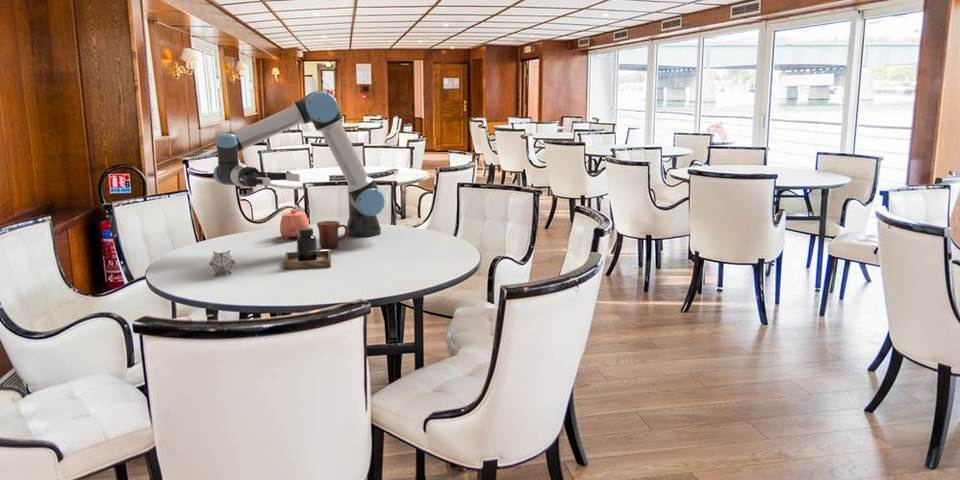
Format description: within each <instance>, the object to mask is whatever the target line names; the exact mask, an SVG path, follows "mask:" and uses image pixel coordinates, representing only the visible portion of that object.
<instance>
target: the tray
mask: <svg viewBox="0 0 960 480" xmlns="http://www.w3.org/2000/svg"><path fill="white" fill-rule="evenodd" d="M331 252H332V251H331ZM331 252H330V250H329V251H317V260H315V261H298V255H297V251H291V252H288V251H287V252H285V257H284V261H283V270H301V269H302V270H304V269H317V268H319V269H320V268H322V269H323V268H331V267H332V266H331V264H332V261H331V260H332V256H331Z"/></svg>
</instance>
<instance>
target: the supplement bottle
mask: <svg viewBox="0 0 960 480" xmlns="http://www.w3.org/2000/svg"><path fill="white" fill-rule="evenodd" d="M299 234H300V236H299V237H297V238H296V252H297V255H298V261H315V260H317V250H318V249H317V238H316V236H315V235H314V229H313V228H311V227H309V228H302V229H299Z"/></svg>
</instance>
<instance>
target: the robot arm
mask: <svg viewBox="0 0 960 480" xmlns="http://www.w3.org/2000/svg"><path fill="white" fill-rule="evenodd" d="M343 119H344V117H343V115H342V113H341V111H340V109H339V104H338V102H337V100H336V98H335V97H334V96H333V94H331V93H330V92H327V91H325V90H317V91H312V92H310V93H308V94H306V95H305V96H304V97H301V99H298V100H296V101H294V102H293V103H292V105H291V106H289V107H287V108H285V109H282V110H280V111H279V112H276V113H274V114H272V115H270V116H267V117H265V118H263V119H261V120H259V121H257V122H255V123H252V124H250V125H247V126H245V127H243V128H241V129H239V130H236V131H234V132H232V133H220V134H219V133H218V134H217V135H216V136H215V140H216V141H215V145H216V146H215V147H216V155H217V166H215V168H214V170H213V174H212V177H213V178H214V180H215V181H216V182H217V183H218V184H222V185H225V186H237V187H238V186H240V188H243V187H248V188H256V187H257V186H265V187H271V186H272V182H271V181H287V182H296V183H297V182H301V180H300V179H301V178H300V173H292V172H290V171H289V170H286V172H272V171H271V172H269V171H268V172H267V171H266V172H264V171H259V169H258V168H256V167H254V166H246V165H240V161H239V152H241V151H243V150H245V149H248V148H249V147H252V146H255V145H257V144H259V143H260V142H261V143H262V142H263V141H265V140H268V139H270V138H272V137H274V136H276V135H278V134H280V133H283V132H285V131H287V130H289V129H291V128H294V127H296V126H298V125H306V124H308V123H310V122H311V123H312V124H313V127H314V129H315V131H317V132H319V133H321V134H322V136H323V137H324V139H325V141H326V144H327V146H328V147H329V150H330V151H331V153H332V155H333V157H334V159H335V161H336V164H337V165H338V167H339V169H340V171H341V172H342V175H343V177H344V178H345V180H346V183H347V193H348V194H347V195H348V213H349V214H348V220H347V223H346V226H347V229H348V232H347V236H349V237H361V238H363V237H372V236H374V237H375V236H378V235H380V234H382V230H381V229H382V228H381V225H380V223H379V220H378V217H377V215H378V214H381V212H382V210H384V207H385V203H386V200H385V197H384V194H383V192H382V191H380V189H379V188H378V186H377V184H376V182H375V179H374V178H373V177H369V175H368V173H367V172H366V169H365V168H364V166H363V164H362V162H361V160H360V158H359V155H358V154H357V152H356V150H355V148H354V146H353V143H352V142H351V140H350V137H349V136H348V134H347V132H346V129H345V128H344V126H343V124H342V123H343Z"/></svg>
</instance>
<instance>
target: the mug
mask: <svg viewBox="0 0 960 480" xmlns="http://www.w3.org/2000/svg"><path fill="white" fill-rule="evenodd" d="M316 226H317V229H318V236H319V238H318V239H319V246H320V249H321V250H327V249H331V250H335V249H337V248H339V243H340V241H342V240H344V239H346V237H347V236H348V235H347V232H348V229H347V224H346V225H345V224H341V223H340V221H337V220H324V221H323V220H322V221H317V223H316ZM340 228H344V235H343V236H340V237H339V229H340Z"/></svg>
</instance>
